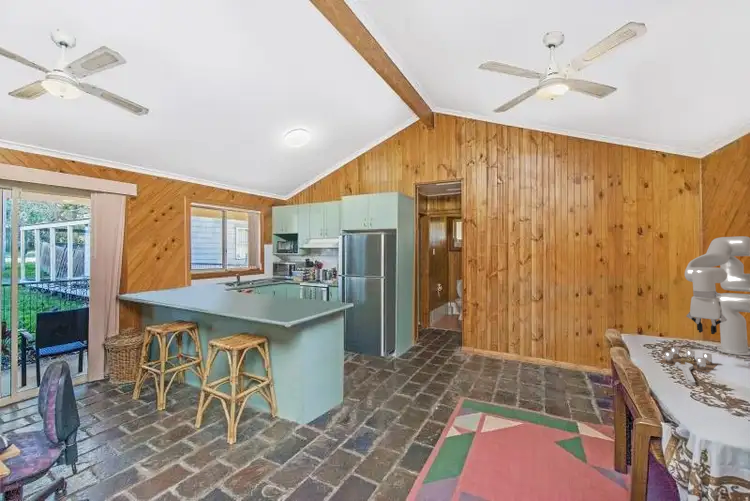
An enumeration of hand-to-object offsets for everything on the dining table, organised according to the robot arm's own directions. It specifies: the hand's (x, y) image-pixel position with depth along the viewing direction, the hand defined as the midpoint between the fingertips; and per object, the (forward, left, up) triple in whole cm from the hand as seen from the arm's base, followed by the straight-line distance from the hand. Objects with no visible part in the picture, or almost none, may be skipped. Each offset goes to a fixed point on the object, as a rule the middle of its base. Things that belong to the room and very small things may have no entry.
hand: (706, 332), depth 150 cm
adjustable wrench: (+17, -4, -17) cm, 25 cm away
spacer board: (0, -7, -17) cm, 19 cm away
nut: (0, -7, -17) cm, 18 cm away
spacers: (0, -7, -17) cm, 19 cm away
